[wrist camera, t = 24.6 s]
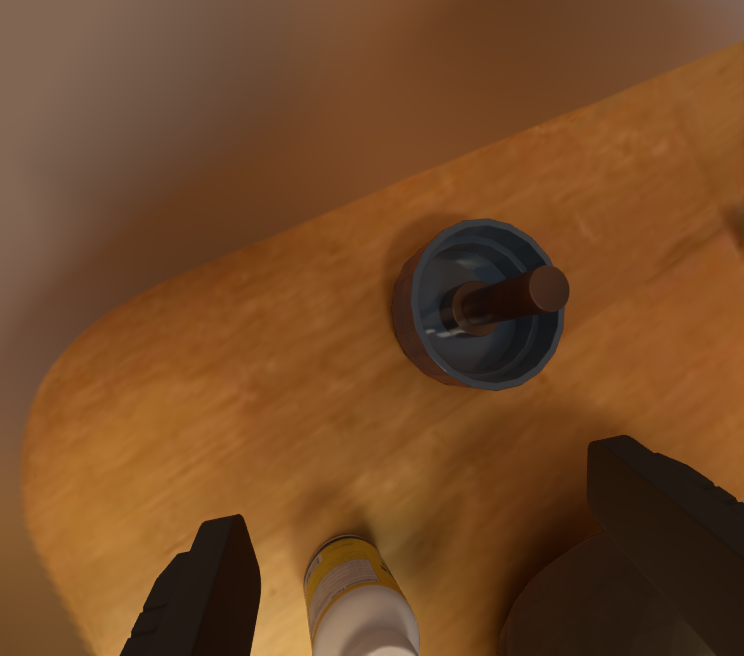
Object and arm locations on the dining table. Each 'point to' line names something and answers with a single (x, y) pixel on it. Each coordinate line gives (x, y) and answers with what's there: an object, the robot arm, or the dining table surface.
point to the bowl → (455, 267)
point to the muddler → (502, 301)
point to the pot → (595, 610)
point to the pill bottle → (356, 603)
